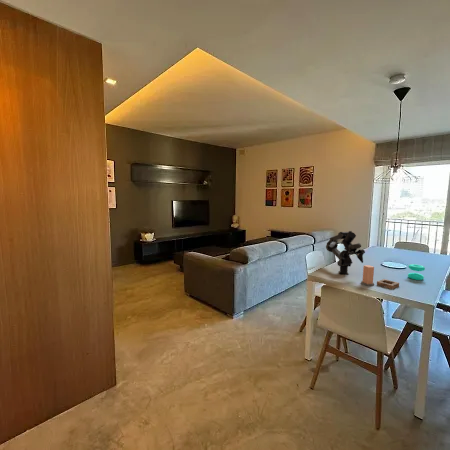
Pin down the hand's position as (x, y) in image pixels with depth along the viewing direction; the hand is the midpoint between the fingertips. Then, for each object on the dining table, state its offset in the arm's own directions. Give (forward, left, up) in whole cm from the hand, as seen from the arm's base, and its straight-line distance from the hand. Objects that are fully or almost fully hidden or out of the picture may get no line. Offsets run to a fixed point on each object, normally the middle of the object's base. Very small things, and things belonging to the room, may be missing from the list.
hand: (357, 262), depth 193 cm
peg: (+9, +5, -12) cm, 16 cm away
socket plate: (+9, +18, -13) cm, 24 cm away
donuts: (-15, +44, -13) cm, 49 cm away
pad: (+9, +5, -13) cm, 16 cm away
